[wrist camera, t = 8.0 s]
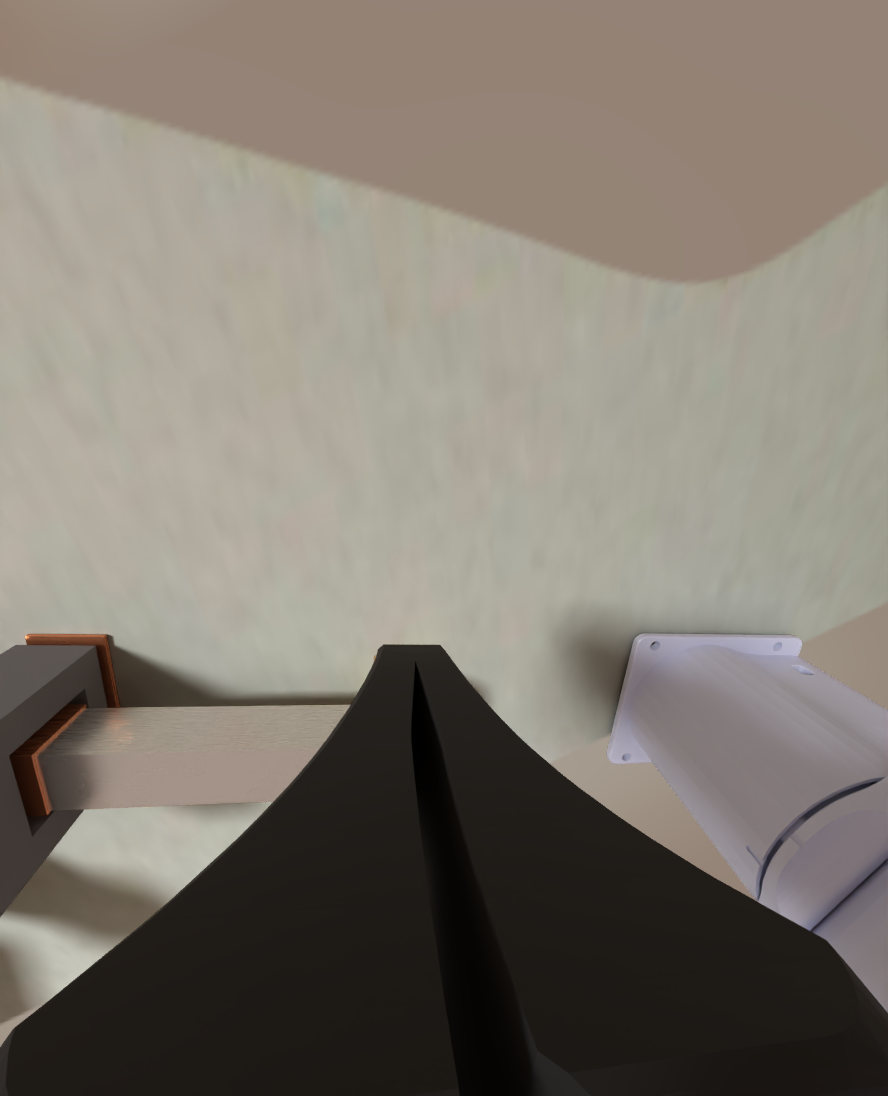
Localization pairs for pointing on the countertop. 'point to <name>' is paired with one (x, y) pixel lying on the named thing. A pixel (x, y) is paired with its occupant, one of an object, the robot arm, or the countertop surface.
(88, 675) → the collar
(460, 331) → the countertop surface
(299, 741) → the rail
